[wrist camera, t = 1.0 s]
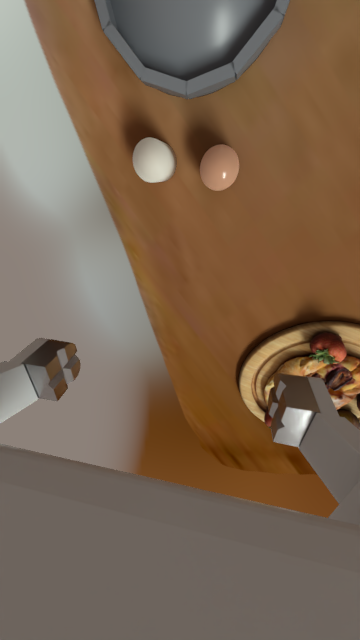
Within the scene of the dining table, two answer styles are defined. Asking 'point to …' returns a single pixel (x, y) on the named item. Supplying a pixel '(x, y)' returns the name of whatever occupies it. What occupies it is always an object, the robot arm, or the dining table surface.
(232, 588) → the robot arm
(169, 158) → the white egg
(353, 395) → the wooden plate with food
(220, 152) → the brown egg
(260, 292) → the dining table surface
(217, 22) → the groove tray
